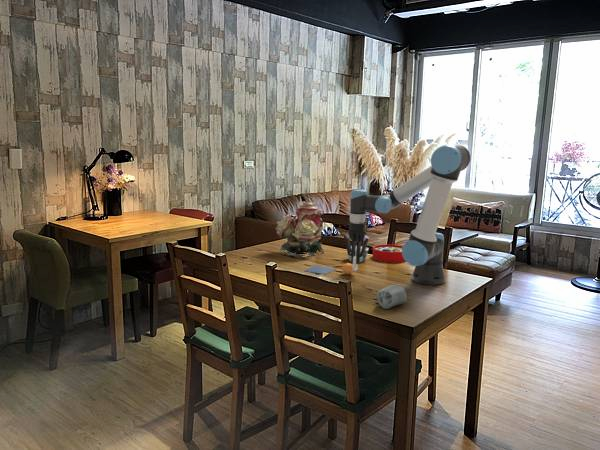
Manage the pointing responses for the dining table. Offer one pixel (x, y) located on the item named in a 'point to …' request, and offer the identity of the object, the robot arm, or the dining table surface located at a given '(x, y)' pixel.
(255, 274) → the dining table surface
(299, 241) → the rose bouquet
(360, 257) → the food container
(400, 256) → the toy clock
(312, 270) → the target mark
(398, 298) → the spool
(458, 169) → the robot arm
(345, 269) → the ball
